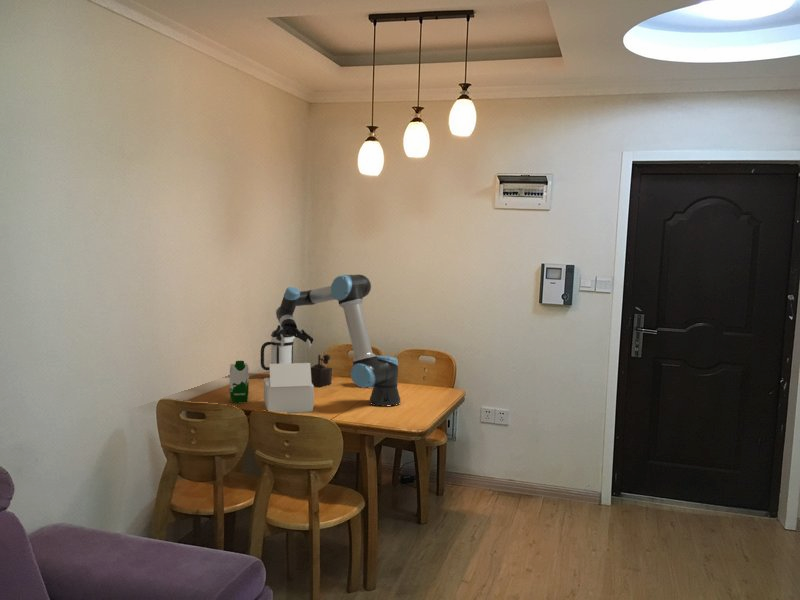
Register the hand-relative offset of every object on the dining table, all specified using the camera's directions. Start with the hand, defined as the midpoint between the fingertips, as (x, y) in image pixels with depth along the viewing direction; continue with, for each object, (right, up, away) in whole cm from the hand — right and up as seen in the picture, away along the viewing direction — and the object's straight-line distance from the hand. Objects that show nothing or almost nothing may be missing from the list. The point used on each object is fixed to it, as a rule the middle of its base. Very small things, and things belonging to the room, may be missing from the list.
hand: (296, 345), depth 318 cm
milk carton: (-29, -27, +4) cm, 40 cm away
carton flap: (-1, -12, -15) cm, 19 cm away
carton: (-3, -29, -5) cm, 29 cm away
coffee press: (-19, -23, +60) cm, 67 cm away
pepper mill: (+7, -25, +43) cm, 51 cm away
